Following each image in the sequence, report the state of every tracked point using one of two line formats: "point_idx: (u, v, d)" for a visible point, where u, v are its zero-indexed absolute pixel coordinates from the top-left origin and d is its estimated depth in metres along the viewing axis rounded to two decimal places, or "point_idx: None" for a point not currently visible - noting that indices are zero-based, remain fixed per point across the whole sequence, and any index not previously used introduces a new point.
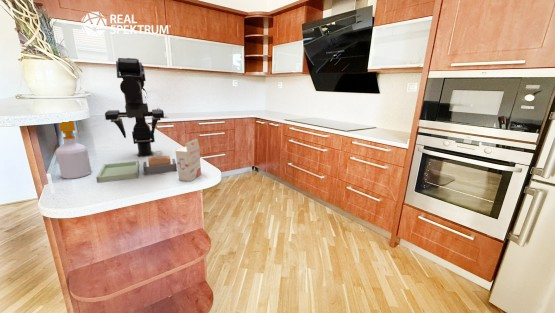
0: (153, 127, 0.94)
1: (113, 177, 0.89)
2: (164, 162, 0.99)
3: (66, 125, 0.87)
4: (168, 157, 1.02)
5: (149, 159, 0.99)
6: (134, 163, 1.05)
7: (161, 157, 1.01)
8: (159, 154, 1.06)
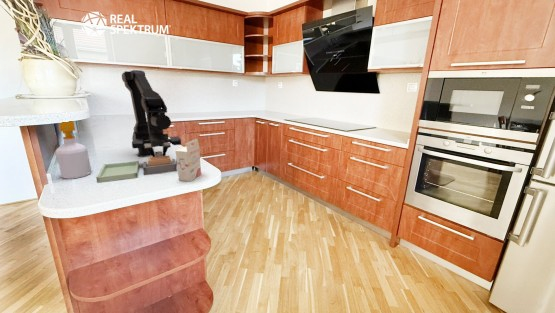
0: (164, 153, 1.07)
1: (113, 177, 0.89)
2: (164, 162, 0.99)
3: (66, 125, 0.87)
4: (168, 157, 1.02)
5: (149, 159, 0.99)
6: (134, 163, 1.05)
7: (161, 157, 1.01)
8: (159, 154, 1.06)
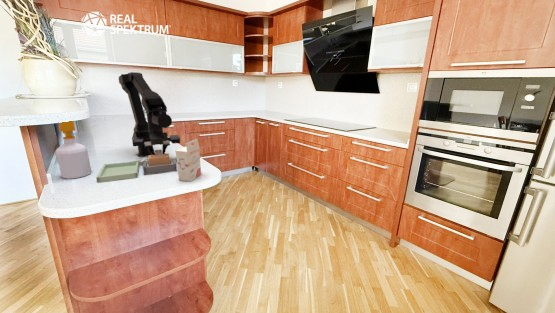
0: (163, 151, 1.10)
1: (113, 177, 0.89)
2: (163, 159, 1.02)
3: (66, 125, 0.87)
4: (167, 155, 1.05)
5: (149, 157, 1.02)
6: (134, 163, 1.05)
7: (161, 155, 1.04)
8: (159, 152, 1.09)
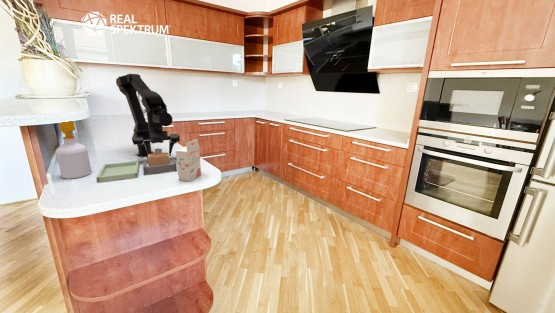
0: (170, 149, 1.13)
1: (113, 177, 0.89)
2: (163, 158, 1.04)
3: (66, 125, 0.87)
4: (167, 154, 1.06)
5: (149, 155, 1.03)
6: (134, 163, 1.05)
7: (160, 154, 1.05)
8: (158, 151, 1.10)
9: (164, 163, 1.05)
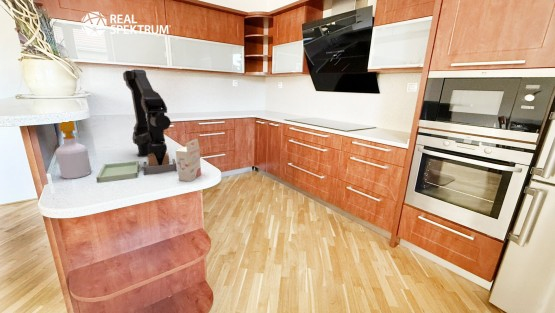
0: (156, 157, 1.00)
1: (113, 177, 0.89)
2: None
3: (66, 125, 0.87)
4: (167, 154, 1.06)
5: (149, 155, 1.03)
6: (134, 163, 1.05)
7: None
8: None
9: (164, 163, 1.05)
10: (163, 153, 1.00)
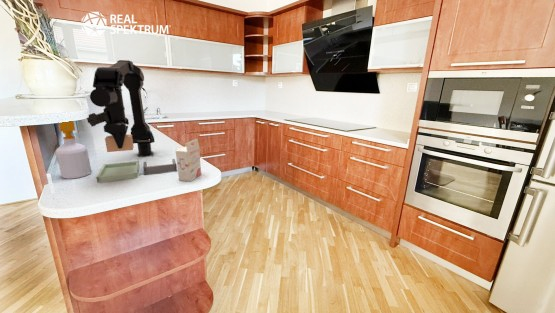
0: None
1: (113, 177, 0.89)
2: (124, 140, 0.90)
3: (66, 125, 0.87)
4: (129, 136, 0.92)
5: (107, 137, 0.89)
6: (134, 163, 1.05)
7: None
8: None
9: (125, 146, 0.90)
10: (123, 134, 0.87)
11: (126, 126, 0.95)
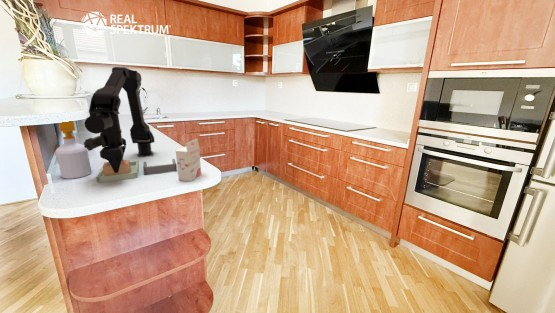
0: None
1: (113, 177, 0.89)
2: (121, 167, 0.91)
3: (66, 125, 0.87)
4: (127, 162, 0.93)
5: (104, 164, 0.90)
6: (134, 163, 1.05)
7: None
8: None
9: (123, 172, 0.92)
10: (119, 159, 0.87)
11: (124, 146, 0.97)
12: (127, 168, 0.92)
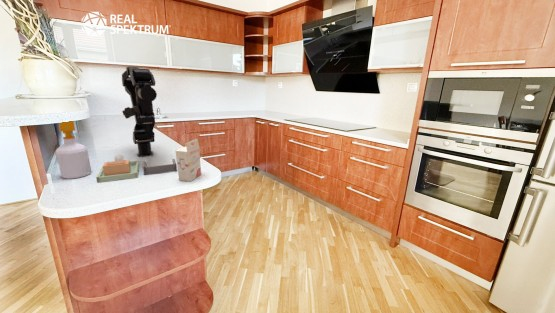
0: (144, 130, 1.01)
1: (113, 177, 0.89)
2: (121, 167, 0.91)
3: (66, 125, 0.87)
4: (127, 162, 0.93)
5: (104, 164, 0.90)
6: (134, 163, 1.05)
7: (119, 162, 0.92)
8: (119, 159, 0.97)
9: (123, 172, 0.92)
10: (152, 126, 1.01)
11: None
12: (127, 168, 0.92)
